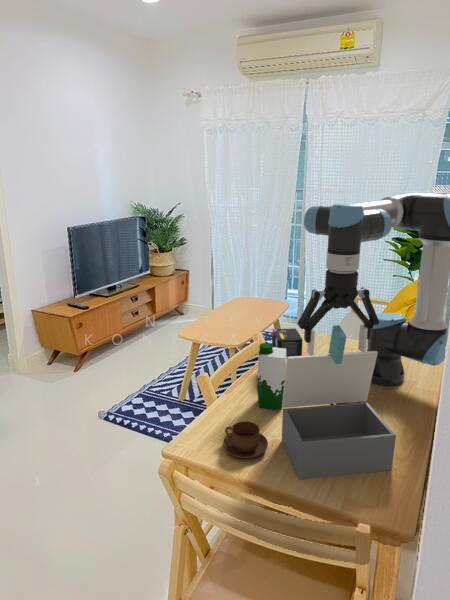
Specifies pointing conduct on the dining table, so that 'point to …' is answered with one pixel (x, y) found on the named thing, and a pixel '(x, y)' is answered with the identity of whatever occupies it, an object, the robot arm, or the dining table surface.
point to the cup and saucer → (245, 440)
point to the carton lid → (329, 375)
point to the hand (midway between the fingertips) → (336, 352)
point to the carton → (337, 440)
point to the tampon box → (288, 341)
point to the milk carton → (271, 376)
